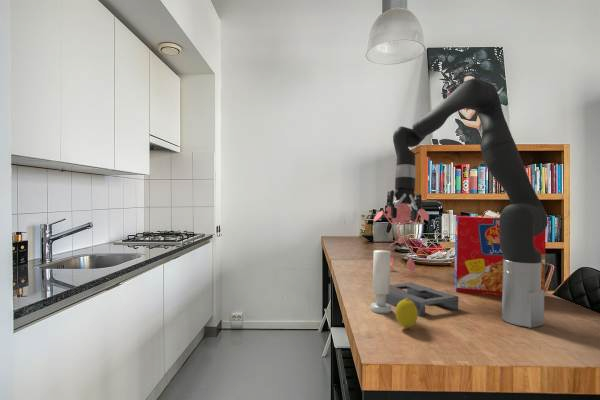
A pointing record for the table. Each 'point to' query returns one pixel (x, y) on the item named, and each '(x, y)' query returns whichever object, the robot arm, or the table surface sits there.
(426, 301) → the keyhole plate
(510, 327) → the table surface
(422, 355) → the table surface
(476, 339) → the table surface
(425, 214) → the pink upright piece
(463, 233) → the pasta box
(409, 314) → the lemon
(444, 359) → the table surface
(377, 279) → the footed peg
